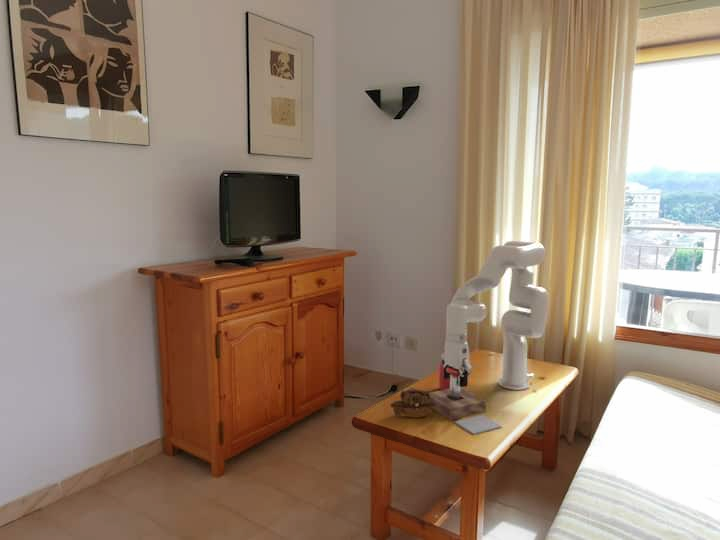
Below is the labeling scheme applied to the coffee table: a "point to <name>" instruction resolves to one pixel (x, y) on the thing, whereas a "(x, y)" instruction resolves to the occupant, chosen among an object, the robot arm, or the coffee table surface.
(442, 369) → the beer can
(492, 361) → the coffee table surface
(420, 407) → the wooden carving
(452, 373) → the peg
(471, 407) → the eye block
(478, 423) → the mat
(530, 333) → the robot arm
